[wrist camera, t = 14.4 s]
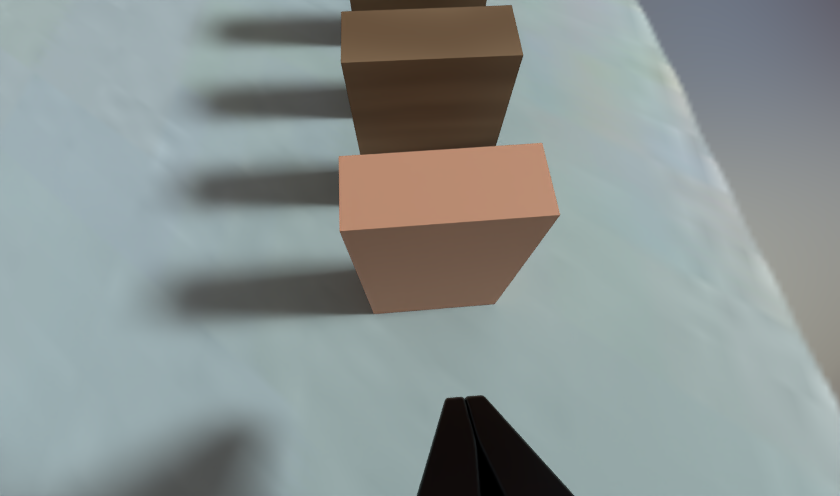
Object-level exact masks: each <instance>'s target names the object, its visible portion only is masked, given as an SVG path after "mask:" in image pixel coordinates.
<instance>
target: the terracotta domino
mask: <svg viewBox="0 0 840 496" xmlns="http://www.w3.org/2000/svg"><path fill="white" fill-rule="evenodd" d="M559 216H560V213H559V209H558V205H557V201H556V197H555V193H554V189H553V185H552V181H551V177H550V173H549V169H548V165H547V161H546V157H545V153H544V149H543V145H542V143H536V144H520V145H505V146H490V147H474V148H459V149H444V150H428V151H413V152H398V153H382V154H367V155H352V156H339V218H340V233H341V236H342V238H343V240H344V243H345V245H346V248H347V250H348V253H349V255H350V257H351V260H352V262H353V265H354V267H355V269H356V272H357V274H358V277H359V279H360V281H361V284H362V286H363V289H364V291H365V294H366V296H367V298H368V301H369V303H370V306H371V308H372V310H373V313H374V314H380V313H393V312H405V311H417V310H429V309H441V308H453V307H465V306H477V305H489V304H495V303H496V302H497V300H498V299H499V298H500V296H501V295H502V294H503V292H504V291H505V289H506V288H507V287H508V285H509V284H510V283H511V281H512V280H513V279H514V277H515V276H516V274H517V273H518V272H519V270H520V269H521V268H522V266H523V265H524V264H525V262H526V261H527V259H528V258H529V257H530V255H531V254H532V253H533V251H534V250H535V248H536V247H537V246H538V244H539V243H540V242H541V240H542V239H543V238H544V236H545V235H546V233H547V232H548V231H549V229H550V228H551V227H552V225H553V224H554V223H555V221H556V220H557V218H558V217H559Z"/></svg>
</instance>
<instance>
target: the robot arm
mask: <svg viewBox="0 0 840 496" xmlns="http://www.w3.org/2000/svg"><path fill="white" fill-rule="evenodd" d="M417 496H574V495H573V494H572V493H571V491H570V490H569V489H568V488H567V487H566V486H565V485H564V484H563V483H562V481H561V480H560V479H559V478H558V477H557V476H556V475H555V474H554V473H553V472H552V470H551V469H550V468H549V467H548V466H547V465H546V464H545V463H544V462H543V460H542V459H541V458H540V457H539V456H538V455H537V454H536V453H535V452H534V451H533V449H532V448H531V447H530V446H529V445H528V444H527V443H526V442H525V441H524V439H523V438H522V437H521V436H520V435H519V434H518V433H517V432H516V431H515V430H514V428H513V427H512V426H511V425H510V424H509V423H508V422H507V421H506V420H505V418H504V417H503V416H502V415H501V414H500V413H499V412H498V411H497V410H496V409H495V407H494V406H493V405H492V404H491V403H490V402H489V401H488V400H487V399H486V398H485V397H484V396H482V395H479V396H467V397H466V398H465V399H464V398H463V397H453V398H447V399H446V400H445V402H444V405H443V408H442V412H441V415H440V419H439V422H438V425H437V429H436V432H435V436H434V439H433V442H432V446H431V449H430V453H429V456H428V459H427V463H426V466H425V470H424V473H423V476H422V480H421V483H420V487H419V490H418V493H417Z"/></svg>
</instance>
